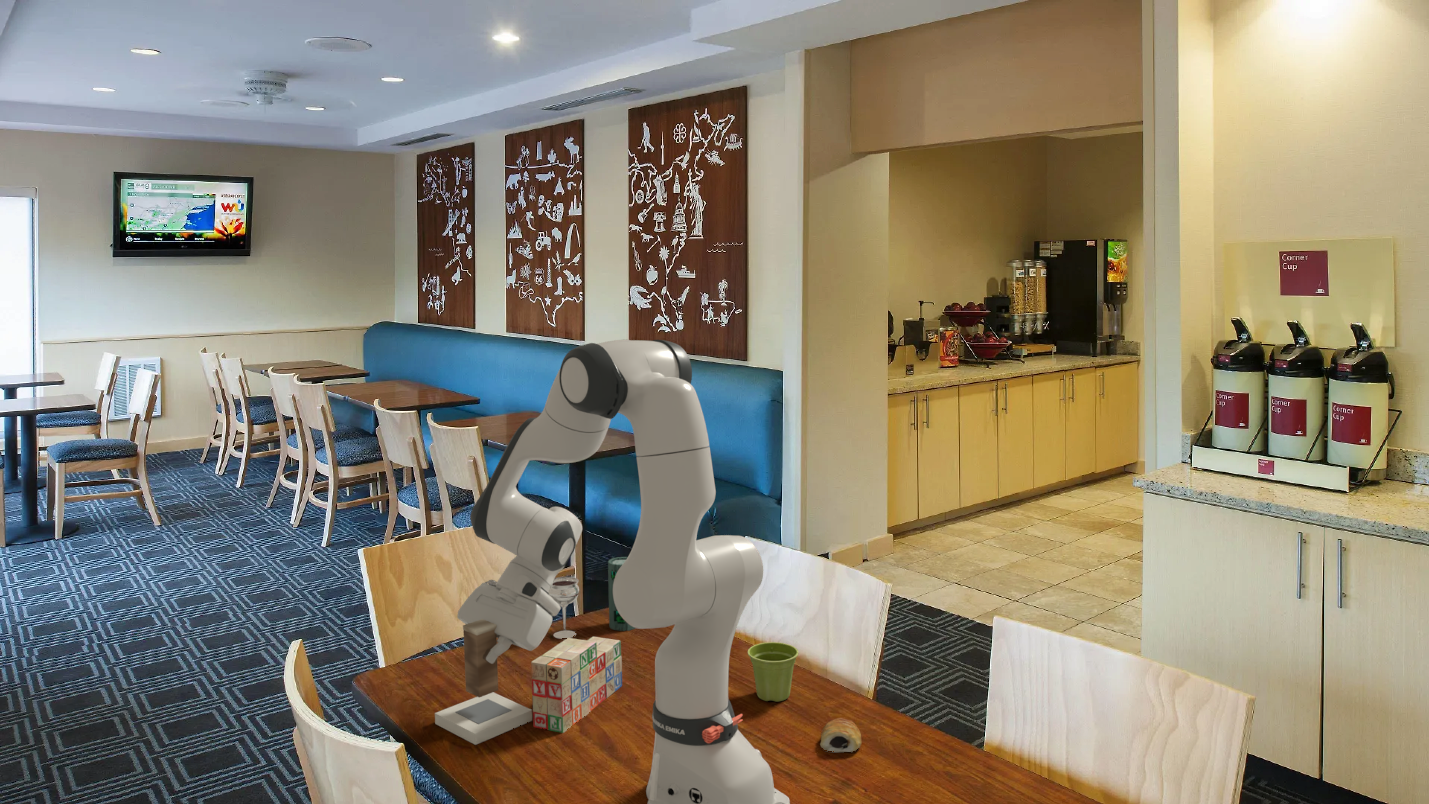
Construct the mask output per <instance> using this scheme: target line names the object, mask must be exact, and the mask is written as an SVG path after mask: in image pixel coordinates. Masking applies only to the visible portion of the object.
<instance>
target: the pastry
mask: <svg viewBox="0 0 1429 804" xmlns="http://www.w3.org/2000/svg"><path fill="white" fill-rule="evenodd" d="M862 743H863V741H862V734H861V730H860V729H859V728H858V726H857V725H856V724H855V722H853V720H850V719H846V718H843V717H837V718H834V719H832V720H829V721H828V722H826V724H825V725H824V727H823V728H822V730H821V733H820V743H819V745H820V748H823V749H824V750H827V751H826V752H828V751H832V752H831V753H844V752H851V753H854V752H853V751H855V752H857V751H858V750H859V749H860V748H861V745H862ZM858 748H859V749H858ZM823 749H822V750H823ZM857 749H858V750H857ZM824 750H823V751H824ZM856 750H857V751H856ZM833 751H834V752H833Z"/></svg>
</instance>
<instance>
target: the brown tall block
mask: <svg viewBox="0 0 1429 804" xmlns="http://www.w3.org/2000/svg"><path fill="white" fill-rule="evenodd" d="M495 629H496V624H494V623H491V622H489V621H486V620H483V619H481V620H478V621H475V622H472V623H469V624H463V625H462V631H463V650H464V651H463V652H464V653H463V654H464V677H465V679H464V681H465V692H467V693H469V694H471V695H473V696H475V697H479V698H480V697H482V696H485V695H487V694H490V693H492V692H494V693H496V692H497V691H499V675H498V673H499V671H498V670H499V669H498V668H499V667H498V658H497V659H496V660H495V662H494V663H493V664H491V663H489V662H487V661H485V660H484V659H483V655H484V654H485V652H486V650H487V649H489V650H490V649H492V648H493V647H494V646H495V645H496V644H497V643H498V642H497V640H498V638H497V637H496V634H495V632H494V631H495Z"/></svg>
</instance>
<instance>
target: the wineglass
mask: <svg viewBox="0 0 1429 804" xmlns="http://www.w3.org/2000/svg"><path fill="white" fill-rule="evenodd" d="M579 582H580V581H579V579H578V578H576V577H573V576H560V577H555V578H554V581H553V585H552V587H551V589H550V590H549V592H548V593H549V595H550V596H551V597H552V598H553V599H554V600H555V601H556V602H557V603H558V604H559V605H560V607H561V609H562V611H561V612H562V622H563V630H559V631H556V632H554V633H553V637H554V638H556V639H561V640H563V639H562V638H573V636H574V635H575V636H576V635H577V633H575V632H576V631H574V630H569V629H568V630H567V629H566V627H567V623H566V621H567V619H566V618H567V613H566V612H567V607H568V605H569V604H572V603H574V601H576V599H578V598H579V597H578V596H579V594H580V587H579V585H578V584H579ZM575 636H574V637H575Z"/></svg>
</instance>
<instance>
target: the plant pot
mask: <svg viewBox="0 0 1429 804" xmlns="http://www.w3.org/2000/svg"><path fill="white" fill-rule="evenodd" d="M747 655H748V657H749V658H750V662H751V663H752V669H753V675H754V676H753V677H754V682H755V683H754V684H755V689H756V696H757V697H758V698H759V699H760V700H762V701H764V702H768V701H772V702H775V703H777V702H782V701H785V700H787V699H789V697H790V695H791V688H792V681H793V672H794V665H795V663H796V662H797V661H796V660H797V657H798V656H799V650H798V649H797V647H795V646H794V645H792V644H788V643H784V642H779V641H778V642H776V641H772V642H771V641H770V642H760V643H757V644H754V645H752V646H751V647H749V648H748V650H747Z"/></svg>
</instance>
